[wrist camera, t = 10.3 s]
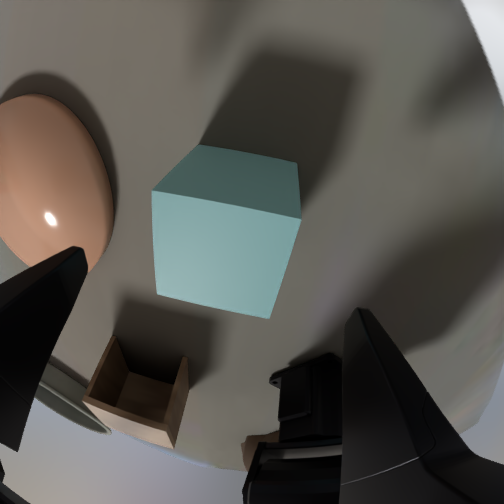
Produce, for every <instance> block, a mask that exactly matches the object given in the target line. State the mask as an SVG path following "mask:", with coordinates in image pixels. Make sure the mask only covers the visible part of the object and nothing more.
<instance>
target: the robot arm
mask: <svg viewBox="0 0 504 504" xmlns="http://www.w3.org/2000/svg"><path fill="white" fill-rule="evenodd" d="M87 273H88V263H87V259H86V255H85V251H84V249H83V248H81V247H78V246H71V247H69V248H67V249H65V250H63V251H61V252H59V253H57V254H55V255H53V256H51V257H49V258H47V259H45V260H43V261H41V262H39V263H37V264H36V265H34V266H32V267H30V268H28V269H26V270H24V271H23V272H21V273H19V274H17V275H15V276H14V277H12V278H10V279H8V280H7V281H5V282H3V283H1V284H0V443H1V444H3V445H5V446H7V447H8V448H10V449H12V450H14V451H16V452H18V450H19V447H20V443H21V439H22V435H23V432H24V428H25V425H26V422H27V418H28V415H29V412H30V409H31V405H32V403H33V400H34V397H35V394H36V391H37V388H38V386H39V383H40V381H41V378H42V375H43V373H44V370H45V368H46V365H47V363H48V361H49V358H50V356H51V354H52V351H53V349H54V347H55V344H56V342H57V340H58V338H59V336H60V334H61V331H62V329H63V327H64V325H65V323H66V321H67V319H68V317H69V315H70V313H71V311H72V309H73V306H74V304H75V302H76V299H77V297H78V294H79V292H80V289H81V287H82V285H83V282H84V280H85V278H86V275H87ZM269 383H270V384H271V385H273V386H275V387H277V388H279V389H280V398H279V410H278V421H279V422H280V427H279V438H278V441H279V442H266V441H259V442H258V445H257V449H256V450H255V453H254V456H253V459H252V462H251V465H250V468H249V472H248V475H247V478H246V481H245V484H244V487H243V489H242V494H243V503H244V504H504V465H503V464H500V463H497V462H494V461H491V460H488V459H485V458H482V457H480V456H478V455H476V454H475V453H474V452H472V451H471V450H470V449H469V448H468V446H467V445H466V444H465V442H464V441H463V440H462V438H461V437H460V436H459V434H458V433H457V432H456V430H455V429H454V428H453V427H452V425H451V424H450V423H449V421H448V420H447V418H446V417H445V416H444V414H443V413H442V412H441V410H440V409H439V407H438V406H437V404H436V403H435V401H434V400H433V398H432V397H431V395H430V394H429V392H427V390H426V388H425V387H424V385H423V384H422V382H421V381H420V379H419V378H418V376H417V375H416V373H415V372H414V370H413V369H412V368H411V366H410V365H409V363H408V362H407V360H406V359H405V358H404V356H403V355H402V353H401V352H400V350H399V349H398V348H397V346H396V345H395V344H394V342H393V341H392V339H391V338H390V337H389V335H388V334H387V333H386V331H385V330H384V328H383V327H382V326H381V324H380V323H379V322H378V320H377V319H376V318H375V316H374V315H373V314H372V312H371V311H370V310H369V309H367V308H361V307H357V308H356V309H355V310H354V311H353V313H352V315H351V316H350V318H349V319H348V321H347V323H346V325H345V330H344V348H343V360H341V359H340V358H339V357H337V356H336V355H334V354H327V355H324V356H322V357H320V358H317V359H315V360H313V361H310V362H308V363H305V364H303V365H300V366H298V367H295V368H293V369H290V370H288V371H285V372H282V373H280V374H277V375H274V376H272V377H270V378H269ZM4 475H5V472H4V470H3V467H2V464H1V461H0V504H30V503H28V502H27V501H26V500H24V499H23V498H21V497H20V496H19V495H17V494H16V493H15V492H13V491H12V490H11V489H9V488H8V487H7V486H6V485H4V484H3V483H2V482H3V479H4Z"/></svg>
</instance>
